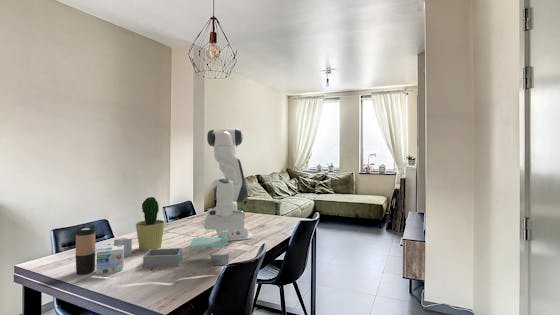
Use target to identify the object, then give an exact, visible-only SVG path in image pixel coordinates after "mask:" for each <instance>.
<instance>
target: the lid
mask: <svg viewBox="0 0 560 315" xmlns="http://www.w3.org/2000/svg"><path fill="white" fill-rule="evenodd" d="M228 242H229V241H228V238H227V231H221V238H218V237H217V236H211V237H198V238H197V237H196V238H192V240H191V242H190V244H189V246H188V248H189V249H192V248H193V249H194V251H196V250H197V251H198V250H206V248H208V247H211V249H221V248H223V246H228Z"/></svg>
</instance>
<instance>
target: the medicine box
mask: <svg viewBox="0 0 560 315" xmlns="http://www.w3.org/2000/svg"><path fill="white" fill-rule="evenodd" d="M121 245H124V258H128V257H130V256H131V255H132V254H133V253H132V251H133V247H132V246H133V244H132V238H125V237H119V238H116V239H114V240H113V246H121Z"/></svg>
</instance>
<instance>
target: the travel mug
mask: <svg viewBox="0 0 560 315" xmlns="http://www.w3.org/2000/svg"><path fill="white" fill-rule="evenodd" d="M95 268H96V227H95V226H90V227H87V226H80V227H78V228H76V229H75V271H76V272H75V273H76V275H78V276H80V275H81V276H83V275H88V274H92V273H94V272H95Z"/></svg>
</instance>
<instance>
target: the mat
mask: <svg viewBox="0 0 560 315" xmlns="http://www.w3.org/2000/svg"><path fill="white" fill-rule="evenodd" d="M229 256H230V255H229V254H228V253H227V254H226V253H225V254H210V259H211V262H212V265H213V266H214V267H219V266H220V267H222V266H227V265H226V264H228V263H229V261H230V260H229V259H230V257H229ZM228 265H229V264H228Z"/></svg>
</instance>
